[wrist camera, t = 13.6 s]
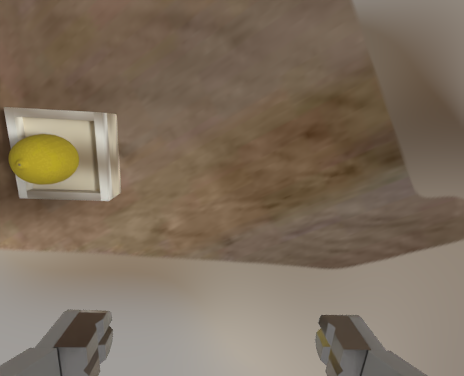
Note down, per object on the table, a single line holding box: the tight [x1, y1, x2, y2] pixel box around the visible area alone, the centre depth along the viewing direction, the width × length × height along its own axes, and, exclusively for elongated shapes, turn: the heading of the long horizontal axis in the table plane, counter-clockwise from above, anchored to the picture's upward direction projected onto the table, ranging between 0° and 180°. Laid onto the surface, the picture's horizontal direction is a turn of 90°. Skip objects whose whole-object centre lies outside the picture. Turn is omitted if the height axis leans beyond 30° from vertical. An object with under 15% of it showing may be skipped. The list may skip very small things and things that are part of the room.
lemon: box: [8, 134, 79, 185], centre depth 27 cm, size 6×6×8 cm
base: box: [4, 107, 121, 201], centre depth 32 cm, size 11×11×4 cm
